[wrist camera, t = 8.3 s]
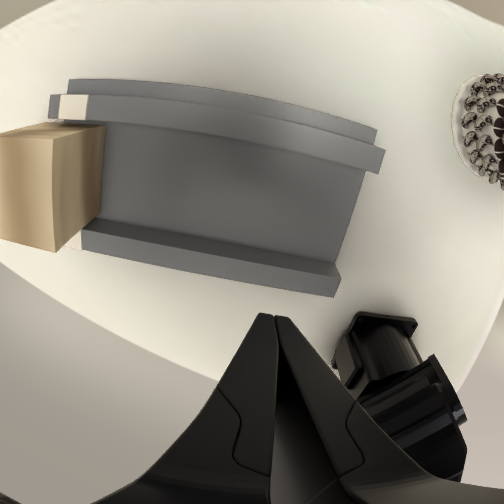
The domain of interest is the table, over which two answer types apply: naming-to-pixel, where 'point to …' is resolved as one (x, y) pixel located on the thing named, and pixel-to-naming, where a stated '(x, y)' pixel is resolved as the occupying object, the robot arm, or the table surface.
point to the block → (50, 182)
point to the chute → (221, 181)
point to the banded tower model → (481, 126)
